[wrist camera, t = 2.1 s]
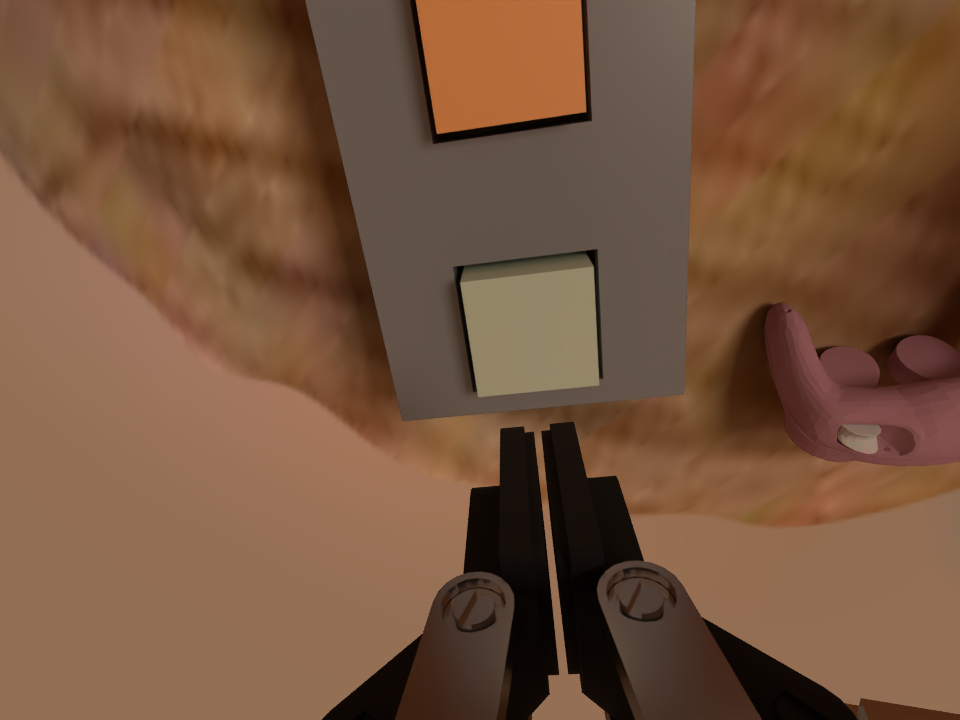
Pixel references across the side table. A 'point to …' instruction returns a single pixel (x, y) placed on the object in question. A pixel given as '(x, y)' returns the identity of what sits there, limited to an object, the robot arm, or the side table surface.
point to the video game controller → (865, 397)
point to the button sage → (532, 323)
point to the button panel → (519, 196)
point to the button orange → (502, 60)
